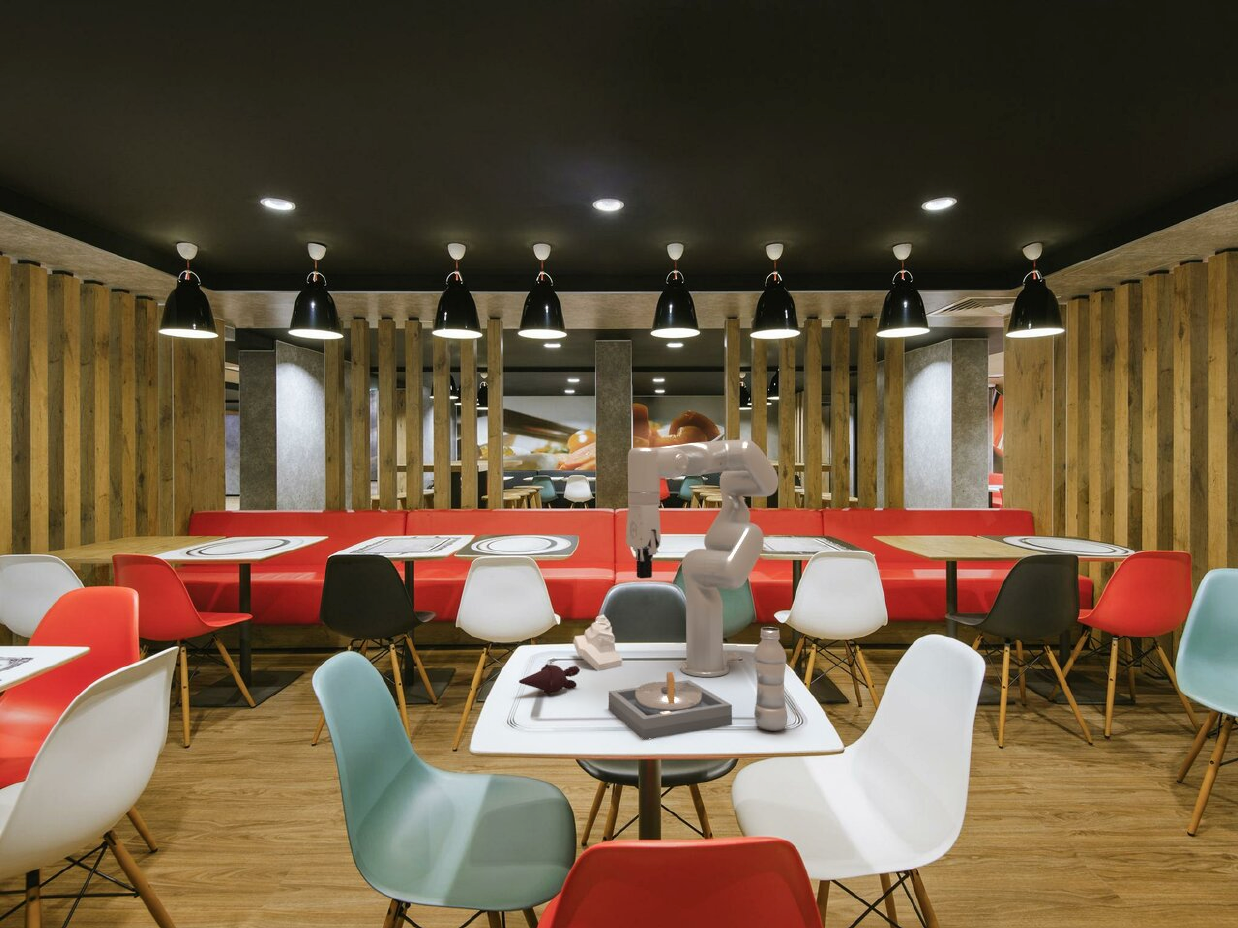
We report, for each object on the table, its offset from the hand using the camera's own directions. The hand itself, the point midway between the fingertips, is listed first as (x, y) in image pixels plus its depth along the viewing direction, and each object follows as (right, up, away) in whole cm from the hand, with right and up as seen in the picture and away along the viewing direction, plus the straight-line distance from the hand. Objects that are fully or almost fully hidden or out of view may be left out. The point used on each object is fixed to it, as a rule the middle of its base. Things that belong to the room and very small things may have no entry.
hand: (644, 577), depth 157 cm
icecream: (-22, -28, 0) cm, 35 cm away
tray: (+4, -27, -16) cm, 32 cm away
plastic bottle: (+25, -27, -23) cm, 43 cm away
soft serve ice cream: (-12, -28, +25) cm, 39 cm away
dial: (+4, -25, -16) cm, 30 cm away
